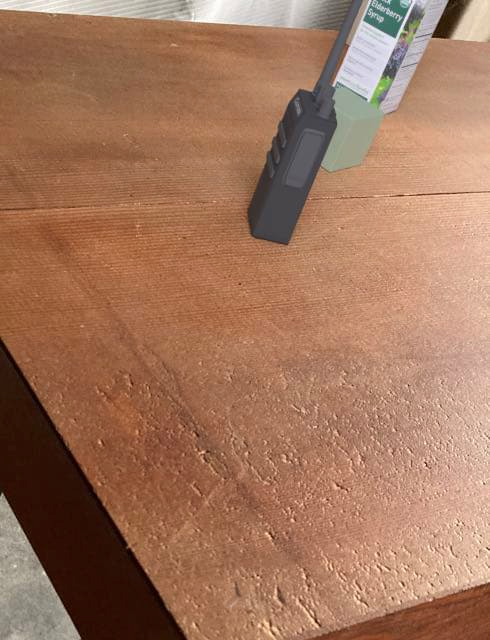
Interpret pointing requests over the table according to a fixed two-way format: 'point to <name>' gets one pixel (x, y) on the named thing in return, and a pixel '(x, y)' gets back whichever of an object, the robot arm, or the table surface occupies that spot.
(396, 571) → the table surface
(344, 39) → the walkie-talkie
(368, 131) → the sage block
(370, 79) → the syrup box
